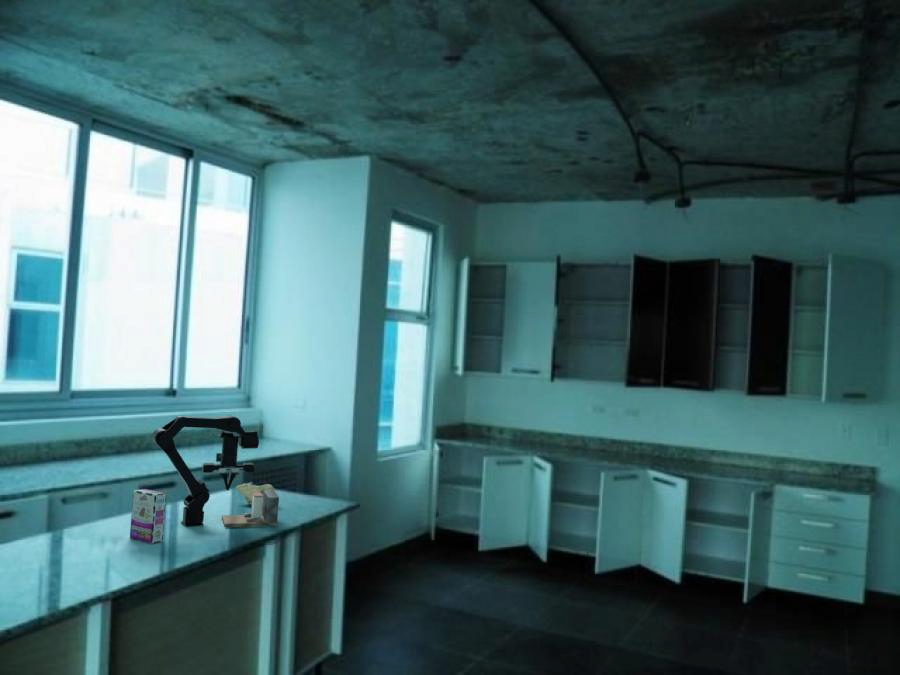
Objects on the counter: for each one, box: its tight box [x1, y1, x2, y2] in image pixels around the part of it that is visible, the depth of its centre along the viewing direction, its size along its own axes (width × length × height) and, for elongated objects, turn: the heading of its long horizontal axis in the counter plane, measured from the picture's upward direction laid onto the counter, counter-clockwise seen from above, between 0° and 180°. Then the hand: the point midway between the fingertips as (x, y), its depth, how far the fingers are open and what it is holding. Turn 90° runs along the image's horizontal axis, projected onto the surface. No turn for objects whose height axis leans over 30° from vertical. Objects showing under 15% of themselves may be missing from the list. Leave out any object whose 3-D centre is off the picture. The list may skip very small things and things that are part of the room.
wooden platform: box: [221, 489, 280, 528], centre depth 277 cm, size 19×13×11 cm
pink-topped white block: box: [250, 493, 263, 520], centre depth 278 cm, size 3×6×9 cm, turn 22°
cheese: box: [235, 481, 276, 505], centre depth 307 cm, size 15×7×15 cm
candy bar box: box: [129, 488, 168, 545], centre depth 245 cm, size 11×5×16 cm, turn 62°
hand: (227, 490), depth 276 cm, fingers closed
